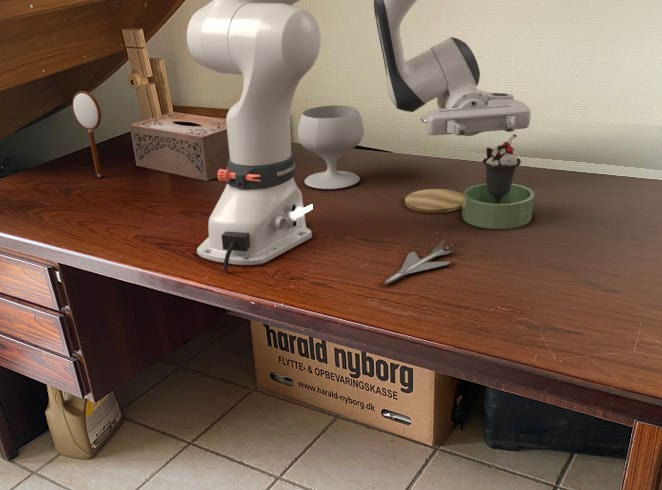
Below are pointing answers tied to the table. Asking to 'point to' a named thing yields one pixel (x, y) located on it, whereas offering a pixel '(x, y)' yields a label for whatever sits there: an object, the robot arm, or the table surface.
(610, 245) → the table surface
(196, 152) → the tissue box cover
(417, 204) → the trivet
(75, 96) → the magnifying glass
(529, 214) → the green shallow round dish
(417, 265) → the toy airplane
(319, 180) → the chalice
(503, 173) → the sundae
